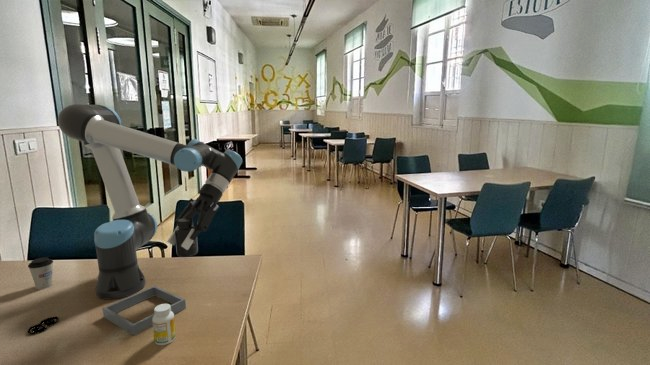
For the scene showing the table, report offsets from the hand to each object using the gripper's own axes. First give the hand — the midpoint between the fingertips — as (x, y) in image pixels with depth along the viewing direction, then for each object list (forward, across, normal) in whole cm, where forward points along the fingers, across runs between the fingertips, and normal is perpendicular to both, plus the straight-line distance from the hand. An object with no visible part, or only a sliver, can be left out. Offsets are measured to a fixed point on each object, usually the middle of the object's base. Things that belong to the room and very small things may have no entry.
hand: (177, 245), depth 114 cm
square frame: (+21, 0, -4) cm, 22 cm away
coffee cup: (+29, +47, +3) cm, 55 cm away
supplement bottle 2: (+1, 0, -6) cm, 6 cm away
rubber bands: (+36, +18, +10) cm, 42 cm away
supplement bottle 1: (+25, -17, -1) cm, 30 cm away
